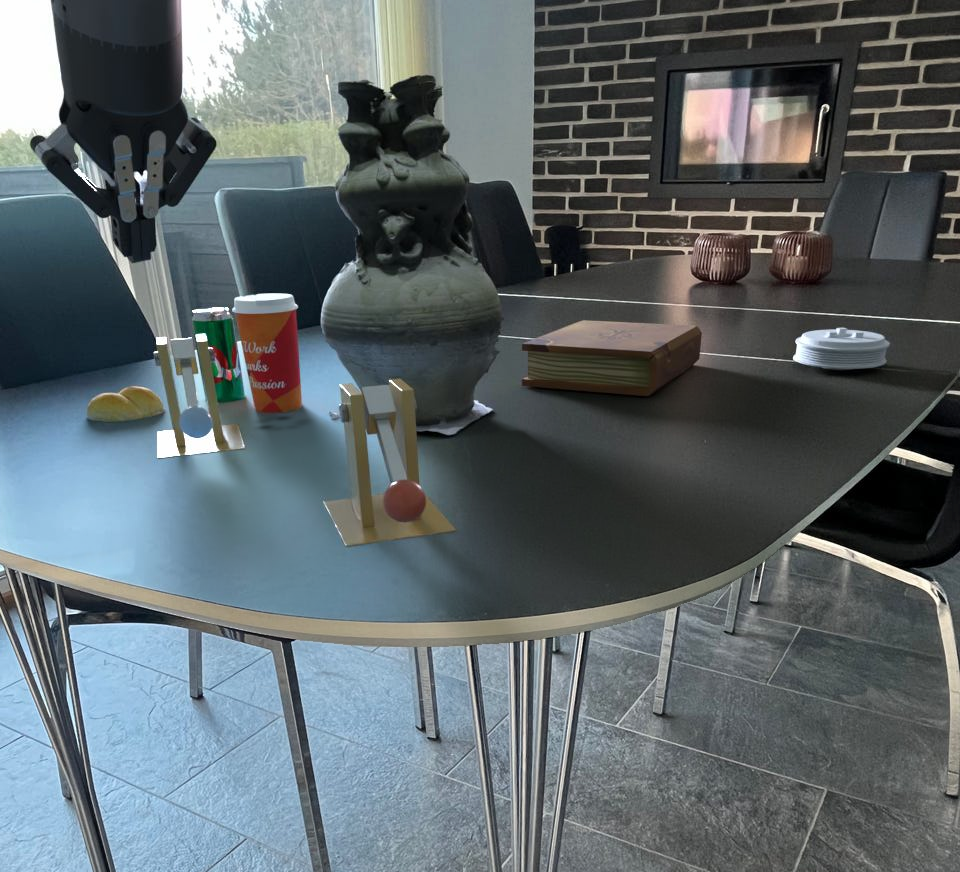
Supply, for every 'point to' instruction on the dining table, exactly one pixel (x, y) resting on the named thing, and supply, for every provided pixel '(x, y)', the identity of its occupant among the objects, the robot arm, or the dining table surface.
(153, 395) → the bread roll
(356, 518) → the swinging ball frame
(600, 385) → the diary
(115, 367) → the dining table surface
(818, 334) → the lid
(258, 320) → the paper cup
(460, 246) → the decorative urn
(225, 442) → the hanging ball swing frame
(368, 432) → the lever
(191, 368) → the lever
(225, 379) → the soda can
